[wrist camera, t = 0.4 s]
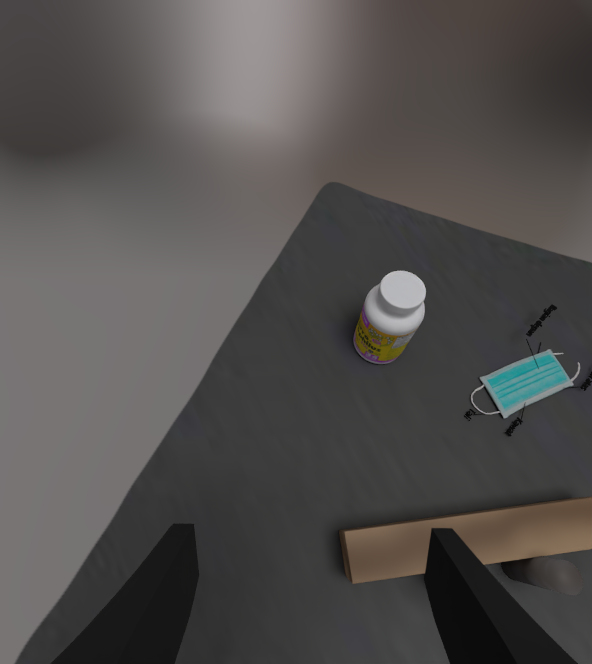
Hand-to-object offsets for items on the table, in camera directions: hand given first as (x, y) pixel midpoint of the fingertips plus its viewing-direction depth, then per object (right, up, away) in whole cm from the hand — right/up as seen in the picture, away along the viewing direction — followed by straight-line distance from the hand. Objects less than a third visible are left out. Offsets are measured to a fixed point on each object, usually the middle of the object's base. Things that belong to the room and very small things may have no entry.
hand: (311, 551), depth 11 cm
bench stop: (+17, -16, +26) cm, 35 cm away
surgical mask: (+29, 0, +35) cm, 45 cm away
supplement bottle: (+10, +5, +37) cm, 39 cm away
